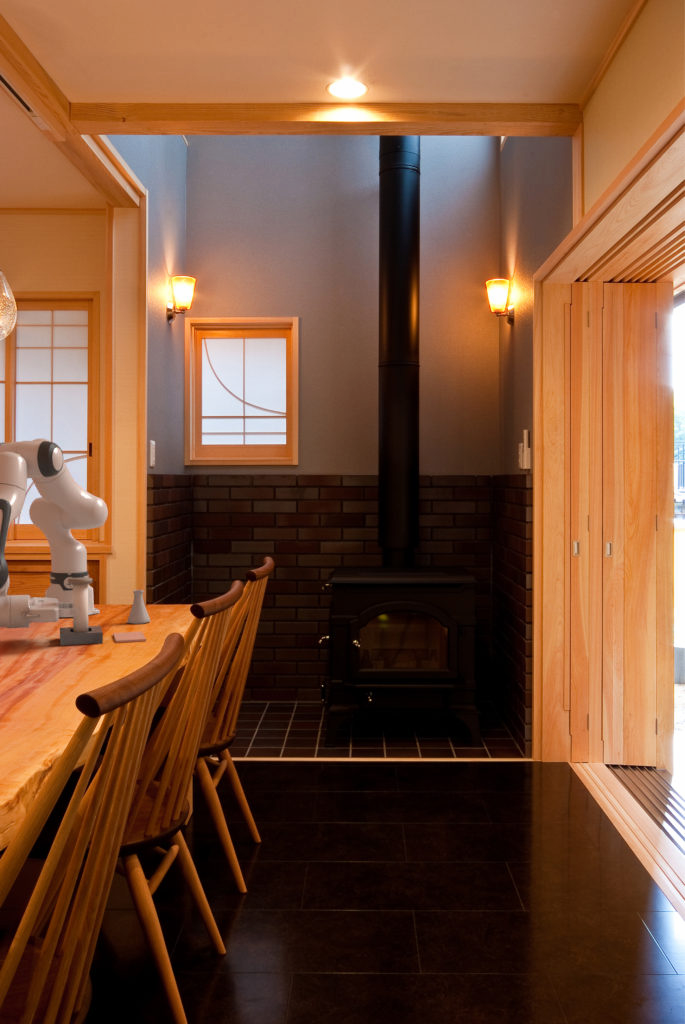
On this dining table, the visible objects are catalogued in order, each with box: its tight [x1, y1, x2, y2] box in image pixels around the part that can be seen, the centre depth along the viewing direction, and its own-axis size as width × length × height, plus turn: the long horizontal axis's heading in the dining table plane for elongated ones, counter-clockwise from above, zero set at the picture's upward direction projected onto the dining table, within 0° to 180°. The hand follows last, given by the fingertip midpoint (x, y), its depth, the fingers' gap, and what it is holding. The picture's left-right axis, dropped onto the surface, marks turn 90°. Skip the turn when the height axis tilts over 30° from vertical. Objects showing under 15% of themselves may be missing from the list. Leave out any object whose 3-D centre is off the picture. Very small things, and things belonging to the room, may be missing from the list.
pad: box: [112, 631, 147, 644], centre depth 244 cm, size 12×8×1 cm, turn 19°
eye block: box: [59, 625, 104, 647], centre depth 240 cm, size 11×11×3 cm
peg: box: [68, 577, 93, 632], centre depth 239 cm, size 6×6×17 cm
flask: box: [126, 589, 151, 625], centre depth 270 cm, size 7×7×10 cm
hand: (76, 608), depth 239 cm, fingers open, 8 cm apart
